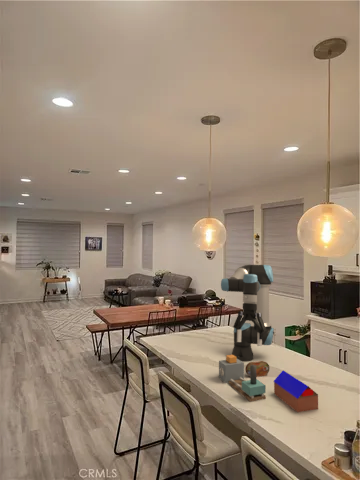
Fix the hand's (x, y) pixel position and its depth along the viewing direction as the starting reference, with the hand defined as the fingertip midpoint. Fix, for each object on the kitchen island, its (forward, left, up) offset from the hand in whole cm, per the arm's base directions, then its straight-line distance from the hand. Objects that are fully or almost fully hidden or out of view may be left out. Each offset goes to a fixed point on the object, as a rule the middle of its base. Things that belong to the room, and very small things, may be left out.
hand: (248, 343), depth 166 cm
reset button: (0, -19, -16) cm, 24 cm away
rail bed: (0, -3, -26) cm, 26 cm away
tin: (-17, -18, -26) cm, 36 cm away
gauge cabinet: (0, -19, -26) cm, 32 cm away
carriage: (0, +4, -23) cm, 23 cm away
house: (-17, +15, -26) cm, 35 cm away
